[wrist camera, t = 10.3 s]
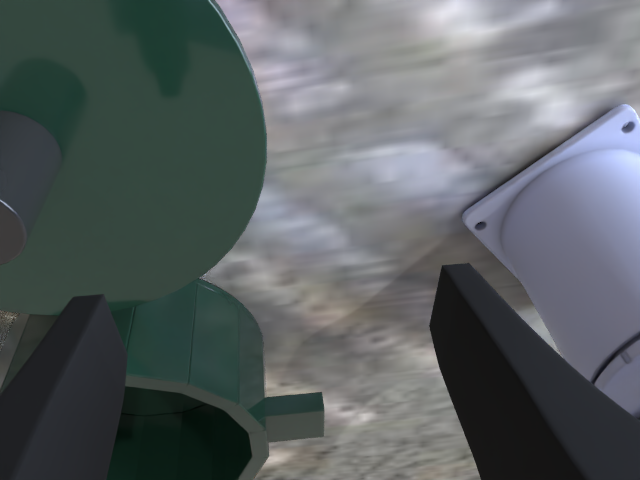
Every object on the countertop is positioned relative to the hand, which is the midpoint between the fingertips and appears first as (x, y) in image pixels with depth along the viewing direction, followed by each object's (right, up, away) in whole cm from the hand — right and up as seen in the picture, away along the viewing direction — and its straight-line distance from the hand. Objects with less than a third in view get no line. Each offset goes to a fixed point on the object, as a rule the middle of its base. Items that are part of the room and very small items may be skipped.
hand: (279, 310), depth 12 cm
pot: (-8, -4, +17) cm, 19 cm away
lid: (-8, +4, +4) cm, 10 cm away
